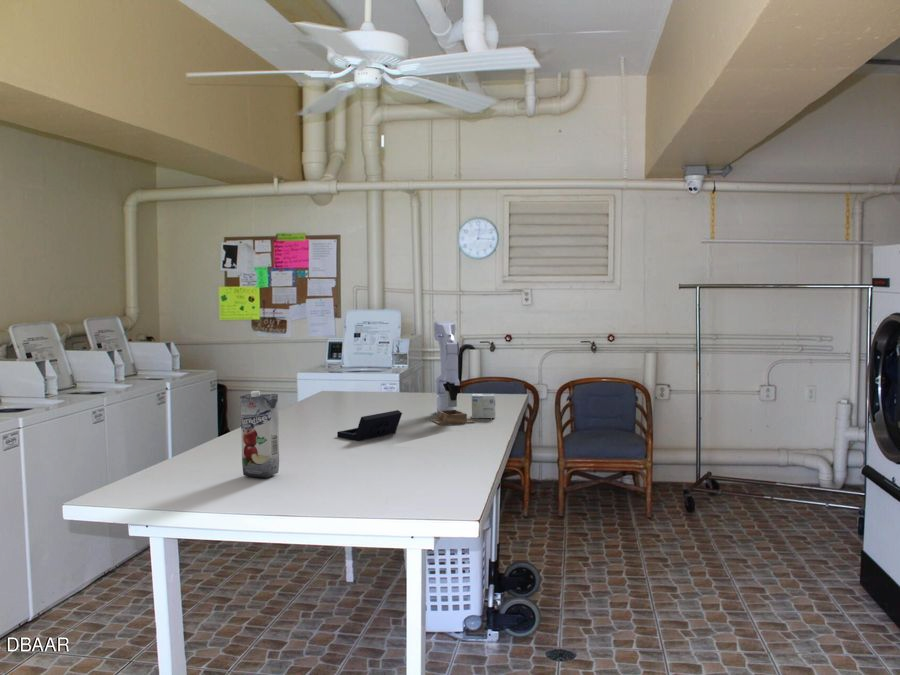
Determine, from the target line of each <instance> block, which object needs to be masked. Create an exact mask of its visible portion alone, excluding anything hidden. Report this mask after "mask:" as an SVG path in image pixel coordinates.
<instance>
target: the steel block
mask: <svg viewBox="0 0 900 675" xmlns="http://www.w3.org/2000/svg"><path fill="white" fill-rule="evenodd" d="M457 400H458V398H457V399H456V400H455V401H451V396H450V390H445V406H447V407H454V408H457V407H458V401H457Z"/></svg>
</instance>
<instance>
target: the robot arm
mask: <svg viewBox="0 0 900 675" xmlns="http://www.w3.org/2000/svg"><path fill="white" fill-rule="evenodd" d="M455 335H456V322H455V321H454V320H452V321H449V320H448V321H436V320H435V321H434V323H433V336H434V340H435V341H437V342H438V345H439V358H440V375H439V376H437V378H436V380H435V394H436V395H437V399H436V411H434V413H436V414H437V415H438V411H441V410H455V407H447V406H445V390H450V396H451V401H455V400H456V399H457V400H458V393H459V391H460V389H461V387H462V385H461V384H460V383H461V381H460V379H459V355H460V344H459V341H457V340H456V336H455Z"/></svg>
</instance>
